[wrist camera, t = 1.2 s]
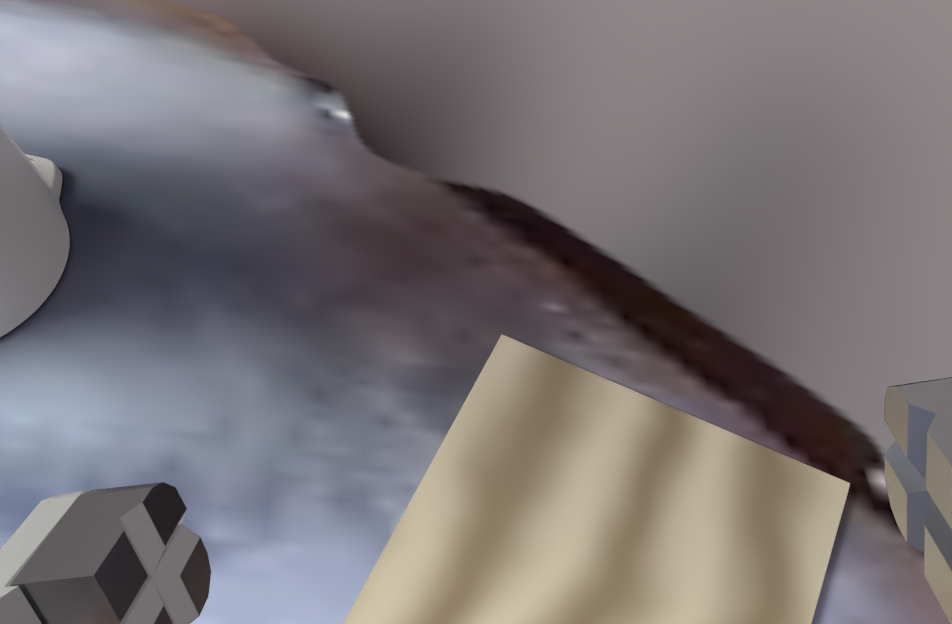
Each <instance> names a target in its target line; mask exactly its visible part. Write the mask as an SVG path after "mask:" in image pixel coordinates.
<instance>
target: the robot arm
mask: <svg viewBox="0 0 952 624" xmlns="http://www.w3.org/2000/svg"><path fill="white" fill-rule="evenodd" d="M61 187H62V173H61V171H60V170H59V168H58V167H57V166H56V165H55V164H54V163H53V162H52V161H51V160H49V159H46V158H41V157H37V156H32V155H27V154H24V153H23V151H22V150H21V149H20V148H19V147H18V145H17V144H16V143H15V142H14V141H13V139H12V138H11V137H10V136H9V135H8V133H7V132H6V131H5V130H4V129H3V127H2V126H1V125H0V337H2V336H3V335H5V334H6V333H8V332H10V331H11V330H13V329H14V328H16V327H17V326H18V325H20V324H21V323H22V322H24V321H25V320H26V319H27V318H28V317H29V316H31V315H32V314H33V313H34V312H35V311H36V310H37V309H38V308H39V307H40V306H41V305H42V304H43V302H44V301H45V300H46V299H47V298H48V296H49V295H50V293H51V292H52V291H53V289H54V288H55V286H56V285H57V283H58V281H59V279H60V277H61V275H62V273H63V271H64V268H65V265H66V262H67V258H68V254H69V246H70V237H69V230H68V225H67V222H66V219H65V217H64V215H63V212H62V210H61V207H60V202H59V198H60V193H61ZM884 403H885V405H884V412H885V413H884V415H885V416H884V420H885V422H886V424H887V425H888V427H889V429H890V430H891V432H892V434H893V435H894V437H895V439H896V441H895V443H894V444H893V445H892V446H891V447H890V449H889V450H888V451H887V452H886V454H885V479H886V485H887V490H888V495H889V500H890V505H891V509H892V511H893V514H894V517H895V519H896V522H897V525H898V527H899V529H900V531H901V533H902V535H903V537H904V538H905V540H906V542H907V543H908V544H909V545H911V546H913V547H914V548H916V549H918V550H920V551H921V552H923V553H924V576H925V578H926V580H927V582H928V583H929V585H930V587H931V589H932V591H933V593H934V594H935V596H936V598H937V600H938V602H939V603H940V605H941V607H942V609H943V611H944V613H945V614H946V616H947V618H948V620H949V622H950V624H952V377H950V378H944V379H938V380H930V381H923V382H916V383H910V384H904V385H896V386H889V387H888V388H887V392H886V396H885V402H884ZM186 509H187V508H186V506H185V504H184V503H183V501H182V499H181V497H180V495H179V493H178V491H177V489H176V488H175V487H173V486H171V485H169V484H166V483H164V482H161V483H152V484H143V485H133V486H124V487H115V488H106V489H97V490H91V491H80V492H73V493H66V494H58V495H54V496H52V497H49V498H46V499H44V500H42V501H41V502H40V503H39V504H38V506H37V507H36V508H35V509H34V510H33V512H32V513H31V514H30V515H29V516H28V517H27V519H26V520H25V521H24V522H23V523H22V525H21V526H20V527H19V528H18V529H17V531H16V532H15V533H14V534H13V535H12V537H11V538H10V539H9V540H8V541H7V543H6V544H5V545H4V546H3V547H2V549H1V550H0V624H190V623H192V622H193V621H194V620H195V619H196V618H197V617H199V616H200V613H201V611H202V609H203V607H204V604H205V602H206V600H207V598H208V594H209V585H210V576H211V569H210V564H209V559H208V554H207V551H206V549H205V547H204V544H203V542H202V540H201V538H200V537H199V536H198V535H196V534H195V533H194V532H192V531H191V530H189V529H188V528H187V527H185V526H184V525H182V522H183V519H184V516H185V513H186Z"/></svg>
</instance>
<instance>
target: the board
mask: <svg viewBox="0 0 952 624" xmlns="http://www.w3.org/2000/svg"><path fill="white" fill-rule="evenodd" d="M849 487H850V483H848V482H846V481H843V480H841V479H839V478H836V477H834V476H832V475H829V474H827V473H825V472H822V471H820V470H818V469H815V468H813V467H811V466H808V465H806V464H804V463H801V462H799V461H797V460H794V459H792V458H790V457H787V456H785V455H783V454H780V453H778V452H776V451H773V450H771V449H769V448H766V447H764V446H762V445H759V444H757V443H755V442H752V441H750V440H748V439H745V438H743V437H741V436H738V435H736V434H734V433H731V432H729V431H727V430H724V429H722V428H720V427H717V426H715V425H713V424H710V423H708V422H706V421H703V420H701V419H699V418H696V417H694V416H692V415H689V414H687V413H685V412H682V411H680V410H678V409H675V408H673V407H671V406H668V405H666V404H664V403H661V402H659V401H656V400H654V399H652V398H649V397H647V396H645V395H642V394H640V393H638V392H635V391H633V390H631V389H628V388H626V387H624V386H621V385H619V384H617V383H614V382H612V381H610V380H607V379H605V378H603V377H600V376H598V375H596V374H593V373H591V372H589V371H586V370H584V369H582V368H579V367H577V366H575V365H572V364H570V363H568V362H565V361H563V360H561V359H558V358H556V357H554V356H551V355H549V354H547V353H544V352H542V351H540V350H537V349H535V348H533V347H530V346H528V345H526V344H523V343H521V342H519V341H516V340H514V339H512V338H509V337H507V336H505V335H501V337H500V339H499V340H498V342H497V344H496V346H495V348H494V350H493V351H492V353H491V355H490V357H489V359H488V360H487V362H486V364H485V366H484V368H483V370H482V371H481V373H480V375H479V377H478V379H477V381H476V382H475V384H474V386H473V388H472V390H471V391H470V393H469V395H468V397H467V399H466V401H465V402H464V404H463V406H462V408H461V410H460V412H459V413H458V415H457V417H456V419H455V421H454V422H453V424H452V426H451V428H450V430H449V432H448V433H447V435H446V437H445V439H444V441H443V442H442V444H441V446H440V448H439V450H438V452H437V453H436V455H435V457H434V459H433V461H432V463H431V464H430V466H429V468H428V470H427V472H426V473H425V475H424V477H423V479H422V481H421V483H420V484H419V486H418V488H417V490H416V492H415V494H414V495H413V497H412V499H411V501H410V503H409V504H408V506H407V508H406V510H405V512H404V514H403V515H402V517H401V519H400V521H399V523H398V525H397V526H396V528H395V530H394V532H393V534H392V535H391V537H390V539H389V541H388V543H387V545H386V546H385V548H384V550H383V552H382V554H381V555H380V557H379V559H378V561H377V563H376V565H375V566H374V568H373V570H372V572H371V574H370V576H369V577H368V579H367V581H366V583H365V585H364V586H363V588H362V590H361V592H360V594H359V596H358V597H357V599H356V601H355V603H354V605H353V607H352V608H351V610H350V612H349V614H348V616H347V617H346V619H345V621H344V623H343V624H811V623H812V620H813V616H814V613H815V609H816V605H817V602H818V598H819V595H820V591H821V587H822V584H823V580H824V577H825V573H826V569H827V566H828V562H829V559H830V555H831V551H832V548H833V544H834V541H835V537H836V533H837V530H838V526H839V523H840V519H841V515H842V512H843V508H844V505H845V501H846V497H847V494H848V490H849Z"/></svg>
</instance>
